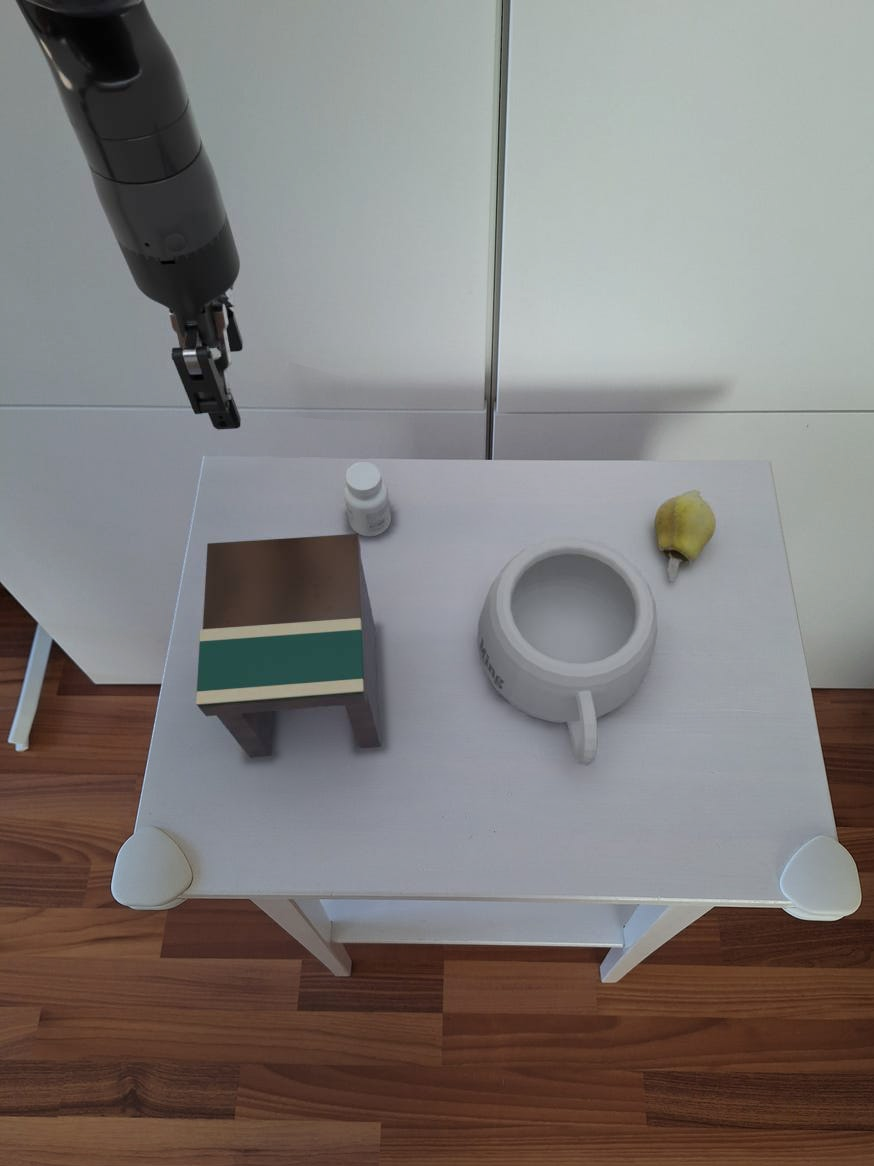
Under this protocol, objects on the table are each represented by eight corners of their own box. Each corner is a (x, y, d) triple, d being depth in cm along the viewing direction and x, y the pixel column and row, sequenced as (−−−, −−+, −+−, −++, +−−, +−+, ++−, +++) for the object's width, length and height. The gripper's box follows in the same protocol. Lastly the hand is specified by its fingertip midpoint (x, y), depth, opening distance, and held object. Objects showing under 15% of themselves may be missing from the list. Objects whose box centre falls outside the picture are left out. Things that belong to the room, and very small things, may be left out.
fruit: (638, 581, 82) (649, 495, 85) (689, 596, 83) (698, 511, 86) (667, 563, 76) (678, 471, 79) (721, 579, 78) (730, 489, 81)
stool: (249, 768, 72) (198, 707, 57) (252, 630, 78) (207, 543, 63) (381, 757, 73) (364, 694, 58) (375, 621, 79) (357, 533, 64)
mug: (469, 581, 81) (471, 527, 72) (629, 571, 82) (652, 516, 73) (489, 786, 72) (494, 754, 63) (669, 772, 73) (699, 738, 64)
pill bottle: (397, 509, 84) (392, 464, 77) (381, 542, 83) (375, 499, 76) (359, 497, 85) (350, 451, 78) (342, 530, 83) (332, 486, 76)
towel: (198, 707, 57) (195, 704, 57) (202, 633, 60) (199, 629, 59) (364, 694, 58) (363, 690, 58) (361, 621, 61) (360, 617, 60)
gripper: (119, 147, 56) (189, 327, 70) (99, 293, 50) (180, 456, 64) (227, 143, 56) (274, 323, 71) (221, 287, 50) (273, 450, 65)
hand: (229, 386), depth 68 cm, fingers open, 8 cm apart
